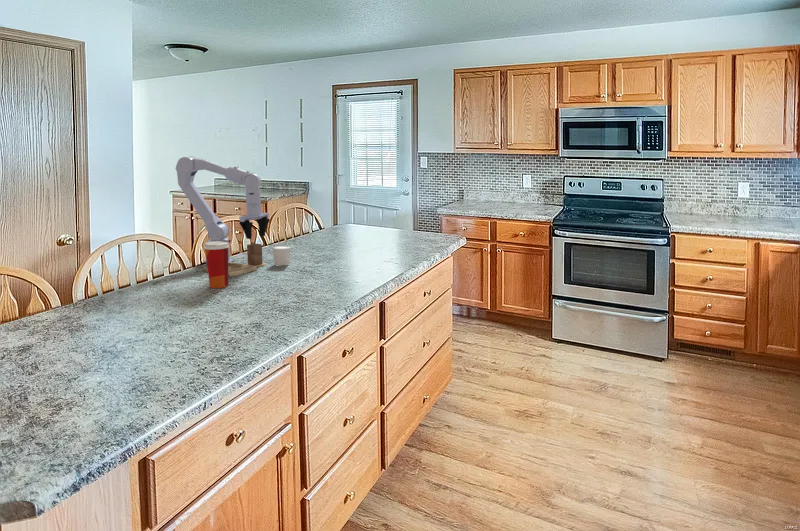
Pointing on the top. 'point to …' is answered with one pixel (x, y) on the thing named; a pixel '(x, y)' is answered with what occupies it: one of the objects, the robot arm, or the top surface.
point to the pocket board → (237, 269)
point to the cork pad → (255, 266)
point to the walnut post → (254, 254)
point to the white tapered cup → (281, 255)
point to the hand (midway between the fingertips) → (255, 237)
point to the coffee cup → (217, 263)
